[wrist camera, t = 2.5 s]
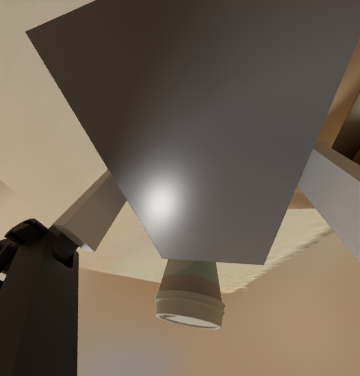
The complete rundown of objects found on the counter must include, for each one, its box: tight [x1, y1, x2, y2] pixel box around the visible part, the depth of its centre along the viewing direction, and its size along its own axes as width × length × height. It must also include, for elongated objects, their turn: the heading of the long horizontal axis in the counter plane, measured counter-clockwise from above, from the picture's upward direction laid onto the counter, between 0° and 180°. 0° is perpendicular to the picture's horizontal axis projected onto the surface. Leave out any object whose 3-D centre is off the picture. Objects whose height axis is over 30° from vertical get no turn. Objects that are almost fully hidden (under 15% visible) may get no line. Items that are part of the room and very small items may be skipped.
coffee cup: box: [155, 259, 225, 329], centre depth 20 cm, size 8×8×12 cm
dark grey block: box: [26, 0, 360, 265], centre depth 11 cm, size 15×9×8 cm, turn 11°
